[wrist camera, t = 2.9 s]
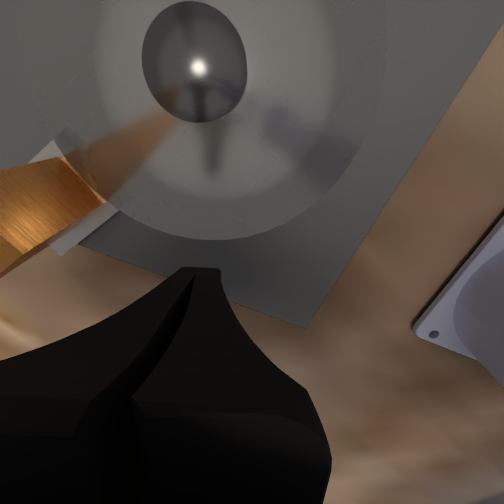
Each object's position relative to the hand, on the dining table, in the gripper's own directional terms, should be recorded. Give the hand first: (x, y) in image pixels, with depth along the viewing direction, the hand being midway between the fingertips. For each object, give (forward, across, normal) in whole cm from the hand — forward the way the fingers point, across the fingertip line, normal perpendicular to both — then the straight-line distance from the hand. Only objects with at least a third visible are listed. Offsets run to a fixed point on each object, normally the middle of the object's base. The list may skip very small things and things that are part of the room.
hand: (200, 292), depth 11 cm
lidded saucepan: (+3, +1, -6) cm, 7 cm away
